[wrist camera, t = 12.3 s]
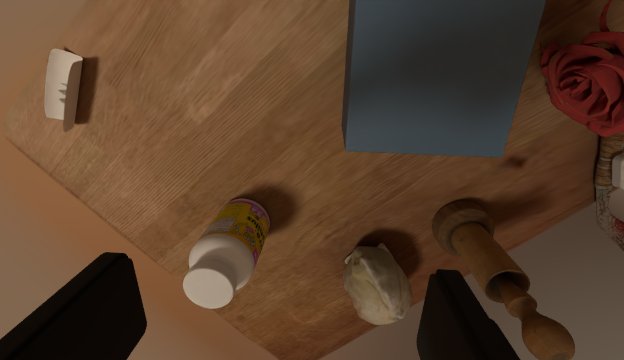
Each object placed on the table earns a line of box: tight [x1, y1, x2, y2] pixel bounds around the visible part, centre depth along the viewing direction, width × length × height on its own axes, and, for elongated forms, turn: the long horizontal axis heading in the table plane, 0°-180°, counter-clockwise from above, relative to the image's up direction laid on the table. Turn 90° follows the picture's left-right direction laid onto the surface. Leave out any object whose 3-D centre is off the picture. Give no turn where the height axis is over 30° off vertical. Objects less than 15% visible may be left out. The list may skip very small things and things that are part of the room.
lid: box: [345, 0, 546, 157], centre depth 19 cm, size 15×13×6 cm
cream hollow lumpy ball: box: [343, 243, 412, 325], centre depth 36 cm, size 9×8×10 cm
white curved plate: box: [44, 49, 83, 132], centre depth 32 cm, size 4×8×3 cm
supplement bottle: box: [183, 199, 270, 308], centre depth 33 cm, size 7×7×13 cm
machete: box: [594, 133, 624, 251], centre depth 34 cm, size 21×3×5 cm
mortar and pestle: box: [432, 200, 575, 360], centre depth 29 cm, size 7×6×18 cm
